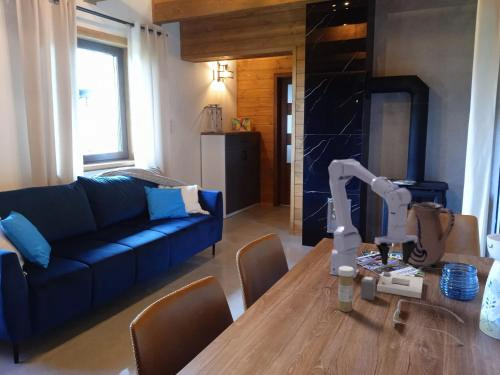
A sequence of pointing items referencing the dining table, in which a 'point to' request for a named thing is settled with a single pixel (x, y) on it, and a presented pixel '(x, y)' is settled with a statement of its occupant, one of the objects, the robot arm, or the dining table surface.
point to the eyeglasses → (423, 327)
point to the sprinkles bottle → (345, 288)
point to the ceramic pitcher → (427, 232)
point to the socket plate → (411, 290)
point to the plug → (368, 288)
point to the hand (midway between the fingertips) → (394, 263)
